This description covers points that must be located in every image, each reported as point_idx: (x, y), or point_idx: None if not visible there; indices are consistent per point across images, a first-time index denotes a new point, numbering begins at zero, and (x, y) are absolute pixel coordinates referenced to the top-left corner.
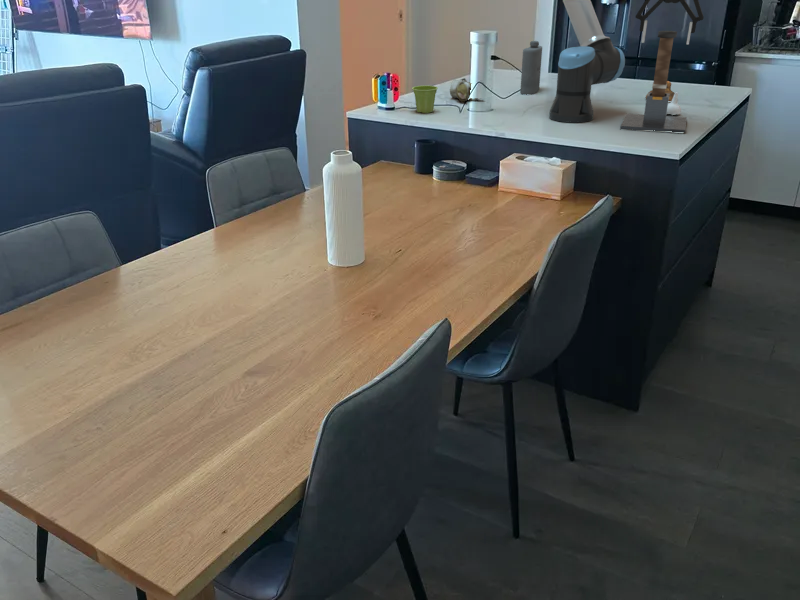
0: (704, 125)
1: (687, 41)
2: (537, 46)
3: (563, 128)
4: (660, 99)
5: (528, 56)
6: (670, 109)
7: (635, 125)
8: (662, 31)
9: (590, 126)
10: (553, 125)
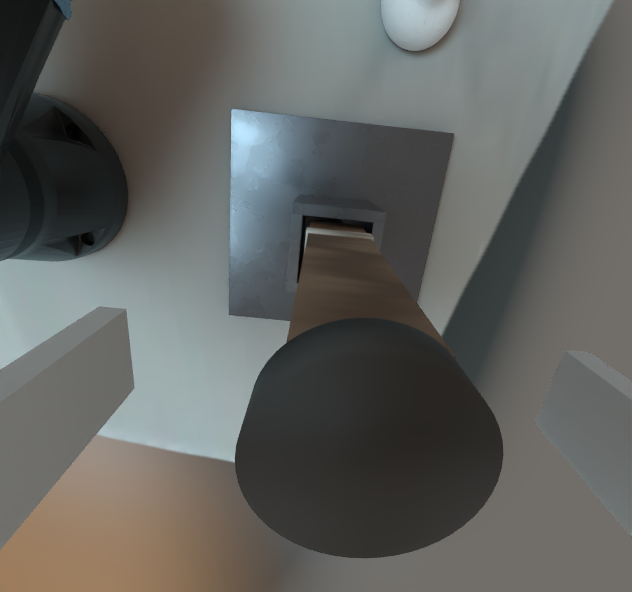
0: (495, 200)
1: (559, 444)
2: None
3: None
4: None
5: None
6: (408, 42)
7: (271, 302)
8: (292, 449)
9: (143, 289)
10: (37, 298)
